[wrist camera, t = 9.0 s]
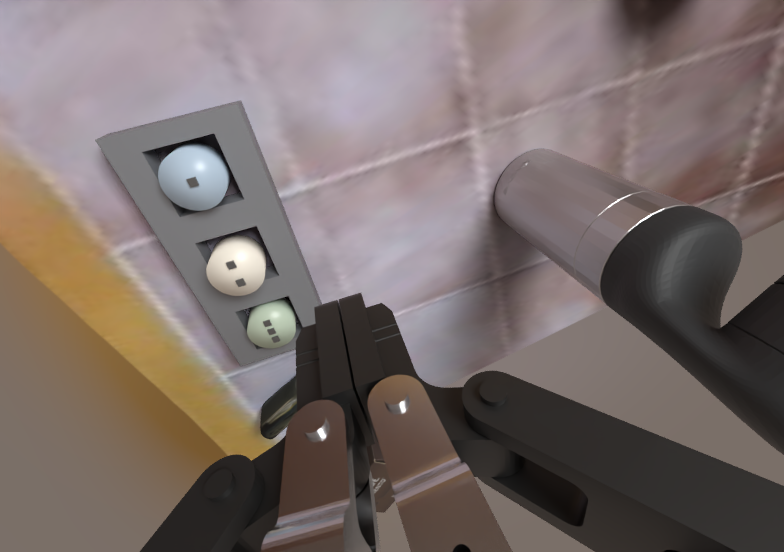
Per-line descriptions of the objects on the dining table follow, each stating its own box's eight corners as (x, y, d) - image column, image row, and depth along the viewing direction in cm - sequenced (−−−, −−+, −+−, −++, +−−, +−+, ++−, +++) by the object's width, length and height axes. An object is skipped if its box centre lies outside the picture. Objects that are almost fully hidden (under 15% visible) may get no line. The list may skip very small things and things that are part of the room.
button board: (108, 133, 30) (95, 140, 28) (241, 100, 31) (237, 104, 29) (242, 351, 44) (240, 366, 42) (329, 324, 45) (331, 337, 43)
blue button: (156, 150, 31) (143, 160, 28) (215, 135, 31) (208, 143, 28) (186, 204, 33) (177, 218, 31) (240, 190, 34) (236, 202, 31)
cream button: (202, 243, 34) (195, 259, 32) (254, 228, 35) (251, 243, 32) (226, 285, 37) (221, 303, 35) (274, 271, 38) (273, 287, 35)
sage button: (242, 304, 40) (238, 321, 38) (286, 290, 41) (286, 307, 38) (260, 336, 43) (258, 355, 40) (301, 323, 43) (302, 341, 41)
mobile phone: (273, 444, 48) (352, 377, 44) (254, 438, 46) (333, 367, 43) (275, 412, 52) (347, 349, 48) (257, 405, 50) (330, 339, 47)
